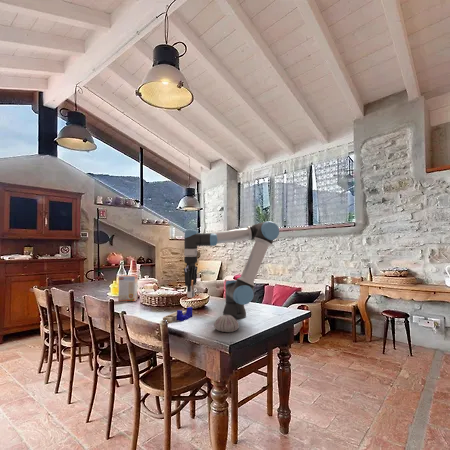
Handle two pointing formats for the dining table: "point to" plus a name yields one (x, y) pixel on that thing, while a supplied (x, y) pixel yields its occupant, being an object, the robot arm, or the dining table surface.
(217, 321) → the sea urchin shell
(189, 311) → the cable clip
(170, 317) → the joist batten
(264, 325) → the dining table surface
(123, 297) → the cracker box
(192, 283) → the awl
